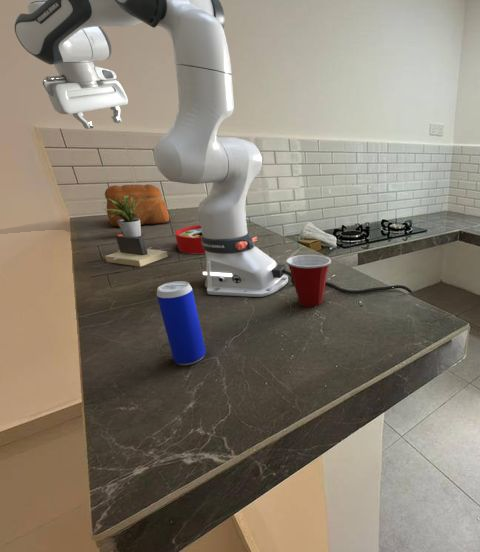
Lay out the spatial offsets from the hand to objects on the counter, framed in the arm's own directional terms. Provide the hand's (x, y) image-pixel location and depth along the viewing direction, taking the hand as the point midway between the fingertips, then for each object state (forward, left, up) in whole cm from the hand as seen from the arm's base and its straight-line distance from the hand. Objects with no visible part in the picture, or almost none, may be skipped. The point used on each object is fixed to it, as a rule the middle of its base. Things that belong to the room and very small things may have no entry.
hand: (104, 125), depth 102 cm
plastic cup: (-79, +21, -40) cm, 91 cm away
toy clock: (-22, -10, -40) cm, 47 cm away
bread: (+29, -28, -40) cm, 57 cm away
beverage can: (-68, +49, -40) cm, 93 cm away
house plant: (+15, -11, -40) cm, 45 cm away
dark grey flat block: (-11, +10, -38) cm, 41 cm away
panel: (-12, +10, -40) cm, 43 cm away
